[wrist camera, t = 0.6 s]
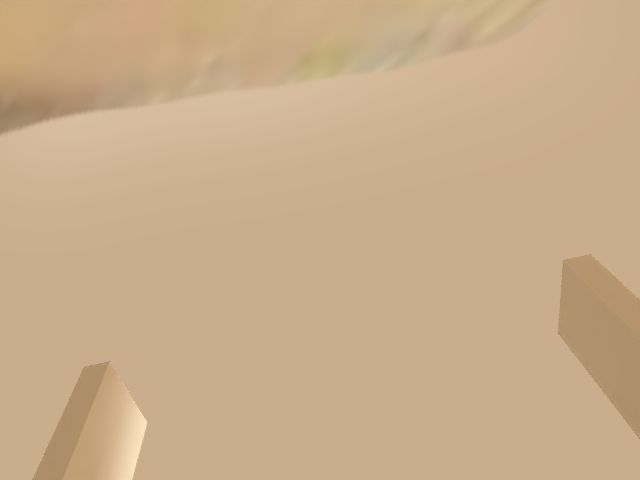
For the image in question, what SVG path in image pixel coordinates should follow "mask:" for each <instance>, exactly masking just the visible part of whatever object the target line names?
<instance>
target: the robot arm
mask: <svg viewBox="0 0 640 480" xmlns="http://www.w3.org/2000/svg"><path fill="white" fill-rule="evenodd" d="M558 334H559V335H560V336H561V337H562V339H563V340H564V341H565V343H566V344H567V345H568V347H570V349H571V350H572V352H573V353H574V354H575V356H576V357H577V358H578V359H579V361H580V362H581V363H582V365H583V366H584V367H585V369H586V370H587V371H588V372H589V374H590V375H591V376H592V378H593V379H594V380H595V381H596V383H597V384H598V385H599V387H600V388H601V389H602V391H603V392H604V393H605V394H606V396H607V397H608V398H609V400H610V401H611V402H612V404H613V405H614V406H615V407H616V409H617V410H618V411H619V413H620V414H621V415H622V416H623V418H624V419H625V420H626V422H627V423H628V424H629V426H630V427H631V428H632V429H633V431H634V432H635V433H636V435H637V436H638V437H639V438H640V300H639V298H637V297H636V296H635V295H634V294H633V293H632V292H631V291H630V290H629V289H627V287H625V286H624V285H623V284H622V283H621V282H620V281H619V280H618V279H617V278H616V277H615V276H613V275H612V274H611V273H610V272H609V271H608V270H607V269H606V268H605V267H604V266H603V265H601V264H600V263H599V262H598V261H597V260H596V259H595V258H594V257H593V256H592V255H590V254H589V255H585V256H581V257H577V258H572V259H567V260H563V270H562V285H561V299H560V313H559V328H558ZM146 426H147V422H146V420H145V418H144V417H143V415H142V413H141V412H140V410H139V409H138V407H137V405H136V404H135V402H134V400H133V399H132V397H131V395H130V394H129V392H128V391H127V389H126V387H125V386H124V384H123V382H122V381H121V379H120V378H119V376H118V374H117V372H116V371H115V369H114V368H113V366H112V364H111V363H110V362H105V363H100V364H96V365H91V366H87V367H84V368H83V371H82V373H81V375H80V377H79V379H78V382H77V384H76V386H75V388H74V390H73V393H72V395H71V397H70V399H69V401H68V403H67V406H66V408H65V410H64V412H63V414H62V417H61V419H60V421H59V423H58V425H57V427H56V430H55V432H54V434H53V436H52V439H51V441H50V443H49V445H48V447H47V450H46V451H45V454H44V456H43V458H42V460H41V462H40V465H39V467H38V469H37V471H36V473H35V476H34V478H33V480H132V478H133V475H134V471H135V467H136V463H137V460H138V456H139V452H140V448H141V444H142V441H143V437H144V433H145V429H146Z"/></svg>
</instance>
